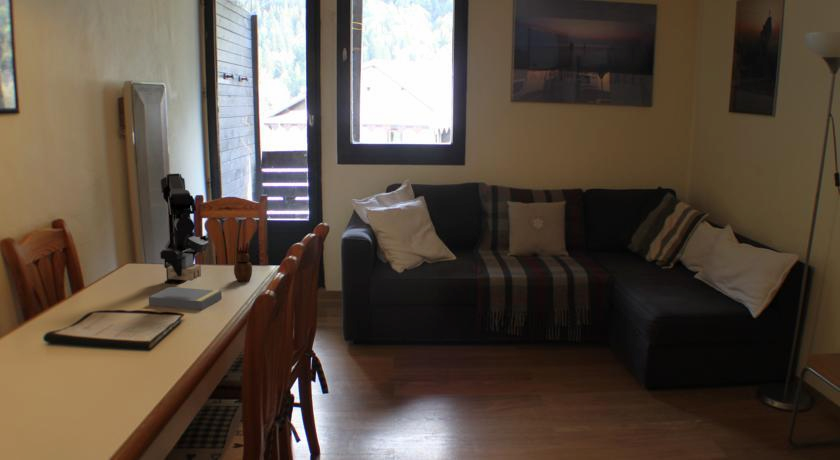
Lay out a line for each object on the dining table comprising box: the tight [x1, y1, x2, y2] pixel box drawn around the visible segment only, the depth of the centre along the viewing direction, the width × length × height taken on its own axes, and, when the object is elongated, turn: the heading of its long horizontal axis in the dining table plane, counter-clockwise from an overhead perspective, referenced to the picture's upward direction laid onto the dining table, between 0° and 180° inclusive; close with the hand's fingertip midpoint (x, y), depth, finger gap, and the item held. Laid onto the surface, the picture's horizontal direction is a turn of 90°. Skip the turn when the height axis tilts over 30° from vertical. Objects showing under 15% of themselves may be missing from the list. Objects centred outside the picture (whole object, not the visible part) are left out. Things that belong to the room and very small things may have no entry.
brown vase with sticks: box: [233, 242, 253, 282], centre depth 264 cm, size 7×6×15 cm
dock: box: [148, 286, 222, 311], centre depth 237 cm, size 20×13×3 cm, turn 77°
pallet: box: [167, 263, 202, 281], centre depth 235 cm, size 9×6×4 cm, turn 77°
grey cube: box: [182, 253, 194, 268], centre depth 234 cm, size 4×4×4 cm
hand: (184, 273), depth 235 cm, fingers closed on pallet, 6 cm apart
